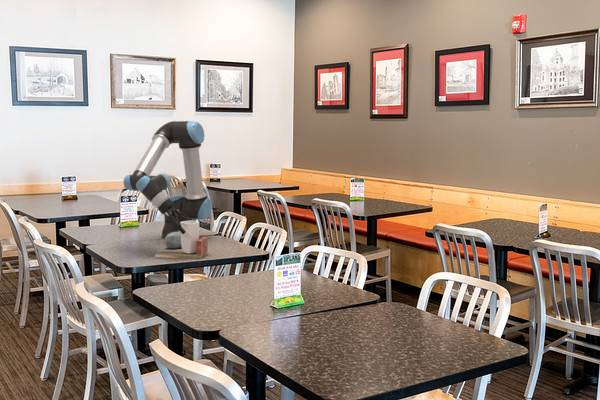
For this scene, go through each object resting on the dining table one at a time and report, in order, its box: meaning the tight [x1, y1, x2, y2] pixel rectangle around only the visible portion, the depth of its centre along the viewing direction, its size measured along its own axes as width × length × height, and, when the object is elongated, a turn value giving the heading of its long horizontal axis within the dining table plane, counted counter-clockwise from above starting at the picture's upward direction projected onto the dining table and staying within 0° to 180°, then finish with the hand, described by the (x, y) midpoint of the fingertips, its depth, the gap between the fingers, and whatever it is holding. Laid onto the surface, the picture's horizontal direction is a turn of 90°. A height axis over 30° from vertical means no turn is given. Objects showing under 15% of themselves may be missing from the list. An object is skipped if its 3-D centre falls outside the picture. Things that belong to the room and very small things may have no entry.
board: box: [154, 236, 209, 260], centre depth 309 cm, size 12×22×8 cm, turn 82°
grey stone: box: [164, 232, 182, 249], centre depth 330 cm, size 14×10×10 cm
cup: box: [180, 220, 200, 254], centre depth 308 cm, size 7×7×15 cm
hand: (194, 235), depth 308 cm, fingers open, 13 cm apart
